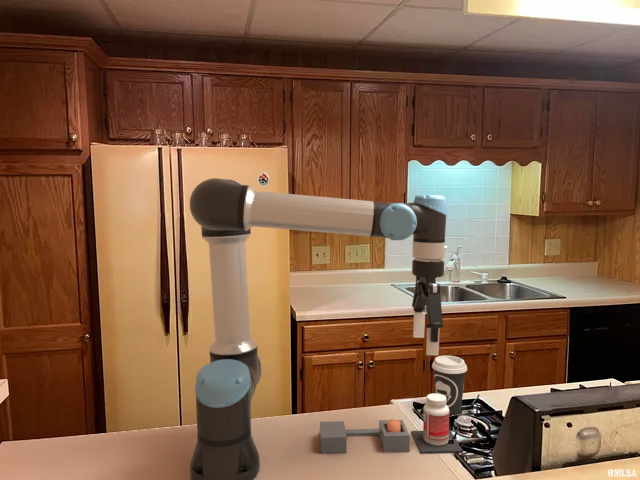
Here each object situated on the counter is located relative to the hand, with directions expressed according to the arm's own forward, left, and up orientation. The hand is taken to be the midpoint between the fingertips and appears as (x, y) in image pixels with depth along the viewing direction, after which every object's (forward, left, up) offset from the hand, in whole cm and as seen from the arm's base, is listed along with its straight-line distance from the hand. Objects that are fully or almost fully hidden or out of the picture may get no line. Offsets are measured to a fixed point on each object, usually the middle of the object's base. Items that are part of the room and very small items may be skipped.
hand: (425, 345), depth 117 cm
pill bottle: (+3, -1, -24) cm, 24 cm away
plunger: (-8, -1, -24) cm, 25 cm away
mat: (+3, -1, -24) cm, 24 cm away
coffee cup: (+11, +15, -24) cm, 30 cm away
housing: (-15, 0, -24) cm, 28 cm away
